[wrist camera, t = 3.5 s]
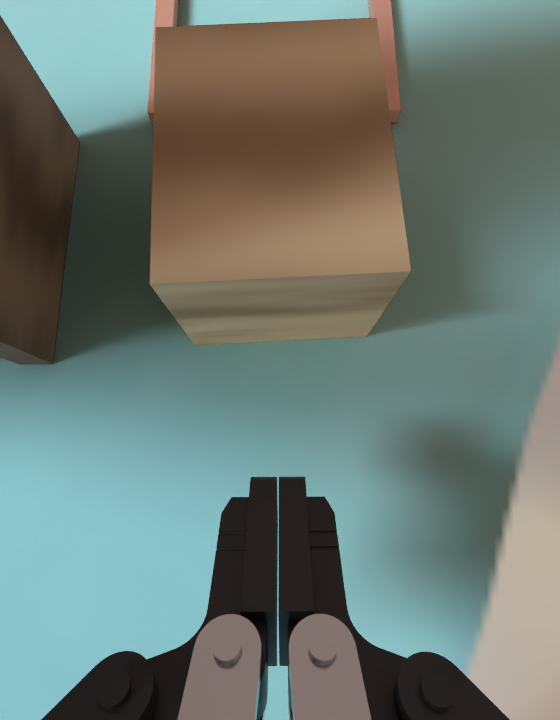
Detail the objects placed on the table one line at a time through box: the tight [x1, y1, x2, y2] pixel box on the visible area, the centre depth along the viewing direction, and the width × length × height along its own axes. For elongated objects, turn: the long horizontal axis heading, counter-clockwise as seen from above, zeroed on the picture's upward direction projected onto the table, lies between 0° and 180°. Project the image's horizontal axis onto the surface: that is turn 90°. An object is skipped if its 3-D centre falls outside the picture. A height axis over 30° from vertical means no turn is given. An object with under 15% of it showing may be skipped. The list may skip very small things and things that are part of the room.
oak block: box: [150, 18, 411, 345], centre depth 17 cm, size 10×8×7 cm
